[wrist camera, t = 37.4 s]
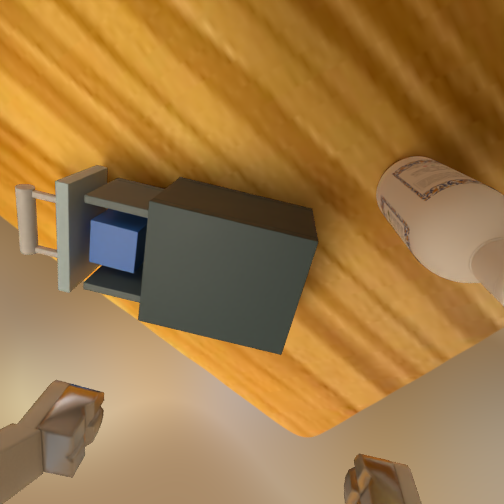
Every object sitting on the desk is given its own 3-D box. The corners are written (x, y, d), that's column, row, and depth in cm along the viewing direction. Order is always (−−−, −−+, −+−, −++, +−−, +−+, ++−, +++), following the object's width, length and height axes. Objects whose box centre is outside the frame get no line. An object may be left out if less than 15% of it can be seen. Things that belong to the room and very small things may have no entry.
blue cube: (112, 242, 39) (88, 261, 35) (114, 204, 37) (90, 219, 33) (151, 252, 39) (133, 273, 35) (156, 215, 38) (138, 232, 33)
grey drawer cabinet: (167, 276, 43) (138, 320, 35) (180, 176, 38) (148, 200, 29) (283, 304, 43) (281, 355, 35) (312, 208, 38) (318, 241, 29)
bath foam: (421, 231, 37) (544, 363, 19) (362, 207, 37) (432, 319, 19) (461, 171, 34) (650, 259, 16) (397, 144, 34) (518, 204, 16)
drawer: (52, 248, 42) (7, 278, 35) (48, 153, 37) (-4, 166, 30) (204, 285, 42) (188, 321, 35) (221, 194, 37) (206, 217, 30)
